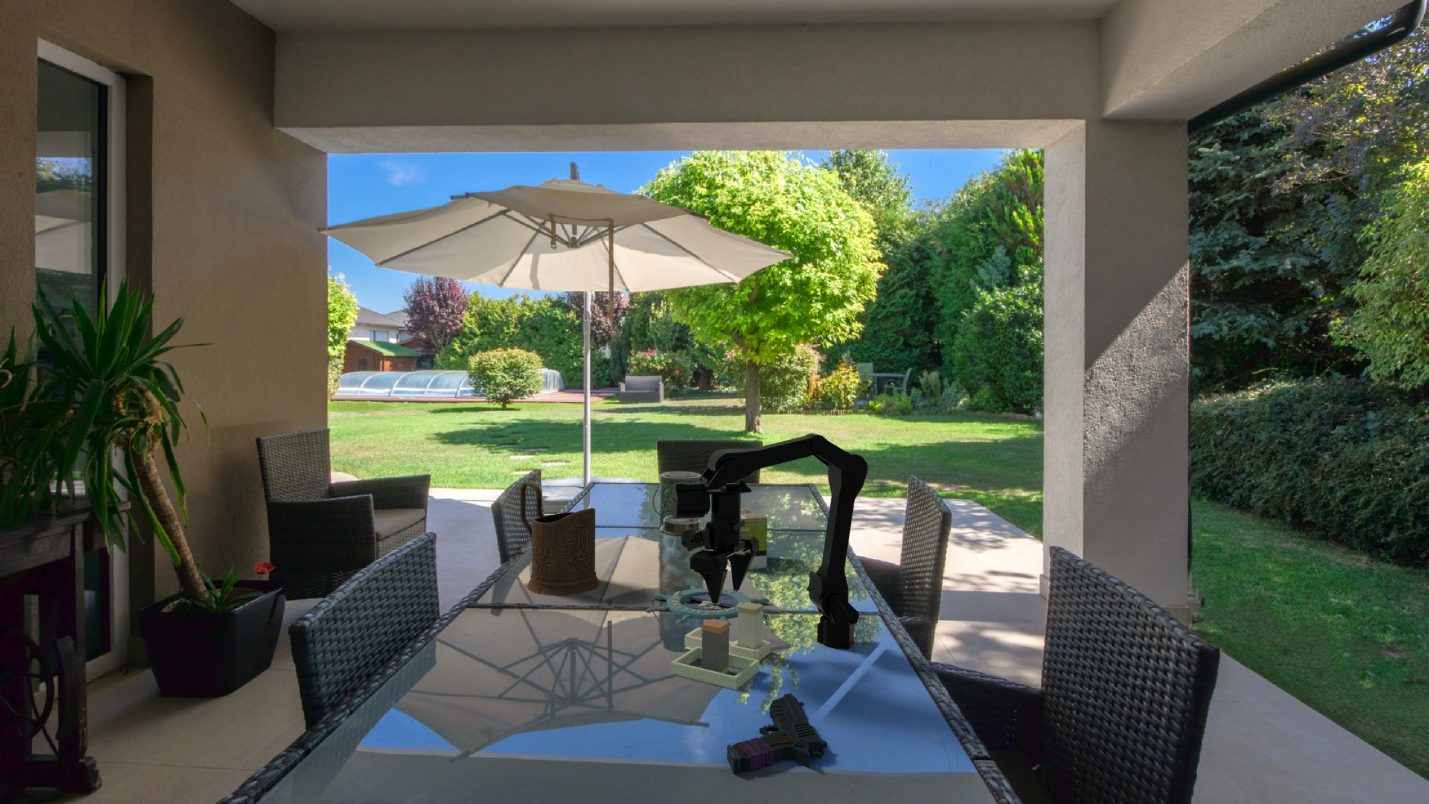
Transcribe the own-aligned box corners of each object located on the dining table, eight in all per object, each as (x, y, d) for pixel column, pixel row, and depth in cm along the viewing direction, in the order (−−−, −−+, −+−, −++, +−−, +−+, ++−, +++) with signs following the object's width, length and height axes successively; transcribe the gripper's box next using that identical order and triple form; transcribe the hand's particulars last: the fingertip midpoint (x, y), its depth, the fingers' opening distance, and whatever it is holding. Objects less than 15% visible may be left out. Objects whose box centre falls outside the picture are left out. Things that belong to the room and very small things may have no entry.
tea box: (716, 557, 223) (717, 507, 222) (749, 555, 226) (750, 506, 225) (733, 571, 208) (734, 517, 207) (767, 568, 211) (768, 516, 210)
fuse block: (773, 655, 149) (773, 640, 148) (755, 669, 142) (755, 653, 141) (701, 639, 156) (701, 625, 156) (681, 652, 149) (681, 637, 149)
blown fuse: (728, 672, 138) (729, 622, 138) (719, 680, 135) (719, 628, 135) (711, 668, 140) (711, 618, 140) (701, 675, 137) (702, 624, 136)
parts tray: (759, 676, 138) (759, 660, 138) (735, 695, 130) (736, 678, 130) (696, 661, 145) (697, 646, 145) (670, 678, 137) (671, 662, 137)
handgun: (713, 713, 125) (802, 708, 127) (731, 779, 105) (836, 771, 107) (713, 696, 125) (802, 691, 127) (731, 759, 105) (836, 751, 107)
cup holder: (565, 600, 181) (566, 496, 180) (495, 584, 193) (495, 486, 192) (615, 582, 197) (615, 486, 195) (546, 567, 209) (547, 477, 208)
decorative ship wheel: (793, 589, 182) (739, 627, 156) (793, 603, 183) (739, 643, 156) (685, 572, 196) (618, 604, 170) (685, 584, 196) (618, 618, 170)
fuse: (762, 652, 147) (763, 604, 147) (754, 658, 144) (754, 610, 144) (745, 649, 149) (746, 601, 148) (737, 655, 146) (738, 606, 145)
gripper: (711, 504, 157) (711, 578, 158) (664, 521, 141) (664, 604, 141) (760, 509, 152) (760, 585, 153) (718, 527, 135) (718, 613, 136)
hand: (725, 596), depth 146 cm, fingers open, 9 cm apart
